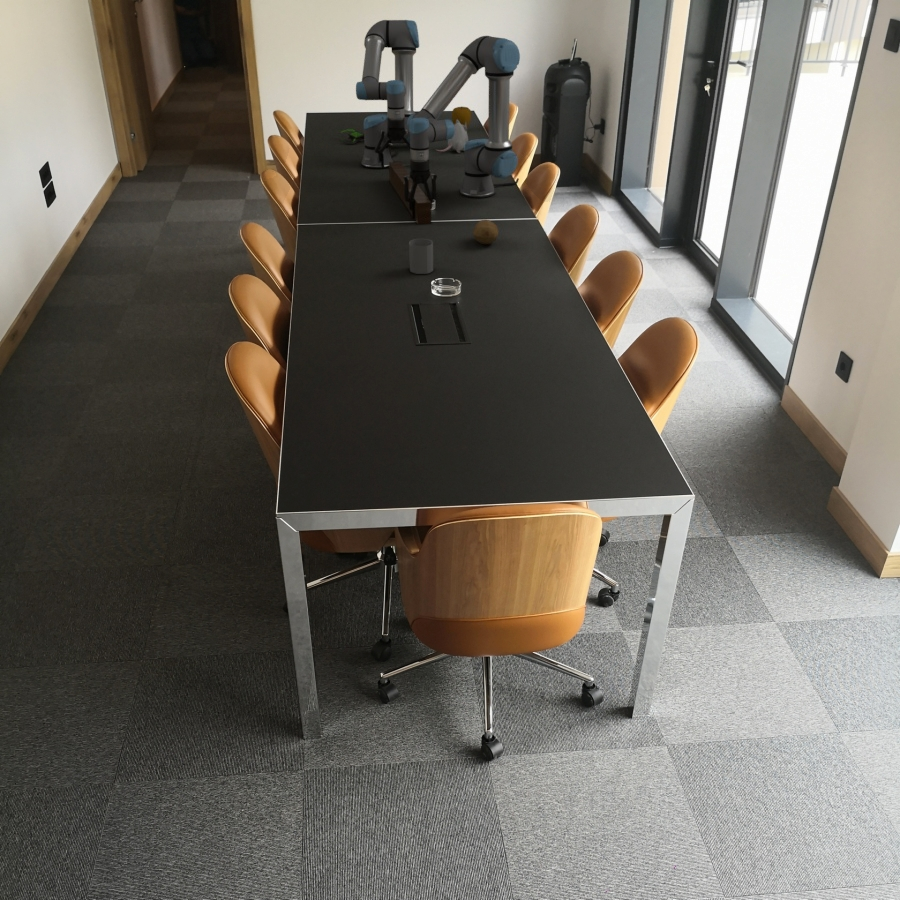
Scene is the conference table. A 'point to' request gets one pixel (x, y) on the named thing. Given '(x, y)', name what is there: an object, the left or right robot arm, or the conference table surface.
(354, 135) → the green toy turtle
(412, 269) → the cup
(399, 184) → the beam
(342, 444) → the conference table surface
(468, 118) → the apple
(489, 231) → the potato
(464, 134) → the toy
